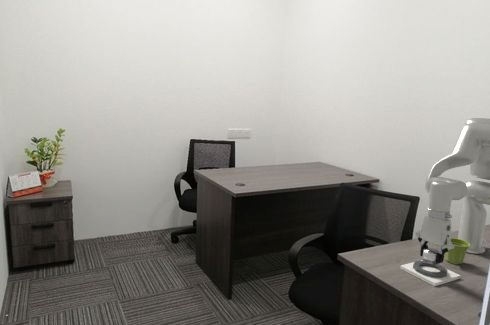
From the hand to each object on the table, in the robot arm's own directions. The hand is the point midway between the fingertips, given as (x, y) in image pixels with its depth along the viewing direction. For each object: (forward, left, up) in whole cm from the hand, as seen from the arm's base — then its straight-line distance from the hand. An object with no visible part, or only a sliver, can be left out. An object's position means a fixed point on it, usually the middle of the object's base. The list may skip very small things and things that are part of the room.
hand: (431, 258), depth 140 cm
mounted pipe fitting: (0, 0, -6) cm, 6 cm away
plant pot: (-20, -3, -6) cm, 21 cm away
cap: (0, 0, -1) cm, 1 cm away
